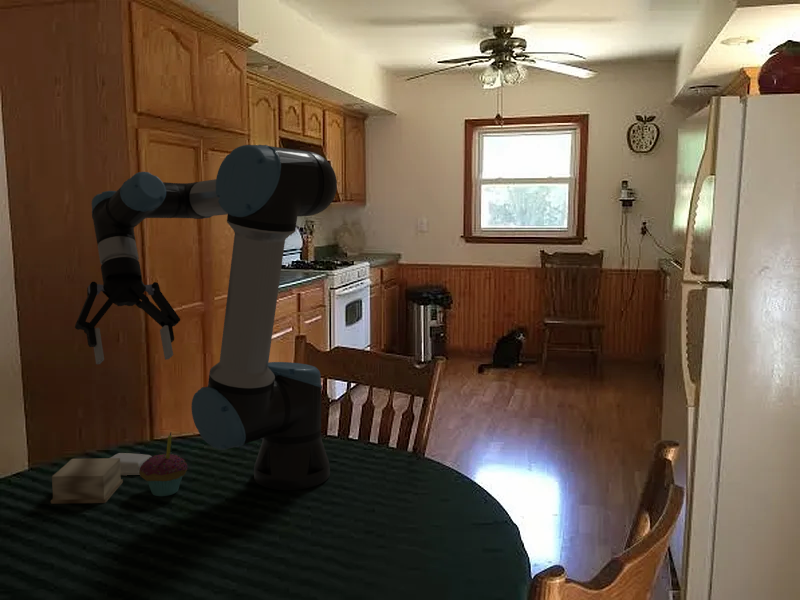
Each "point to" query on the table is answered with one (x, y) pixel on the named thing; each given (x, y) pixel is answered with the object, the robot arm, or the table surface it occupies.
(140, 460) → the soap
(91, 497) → the pedestal
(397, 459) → the table surface
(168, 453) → the cupcake
